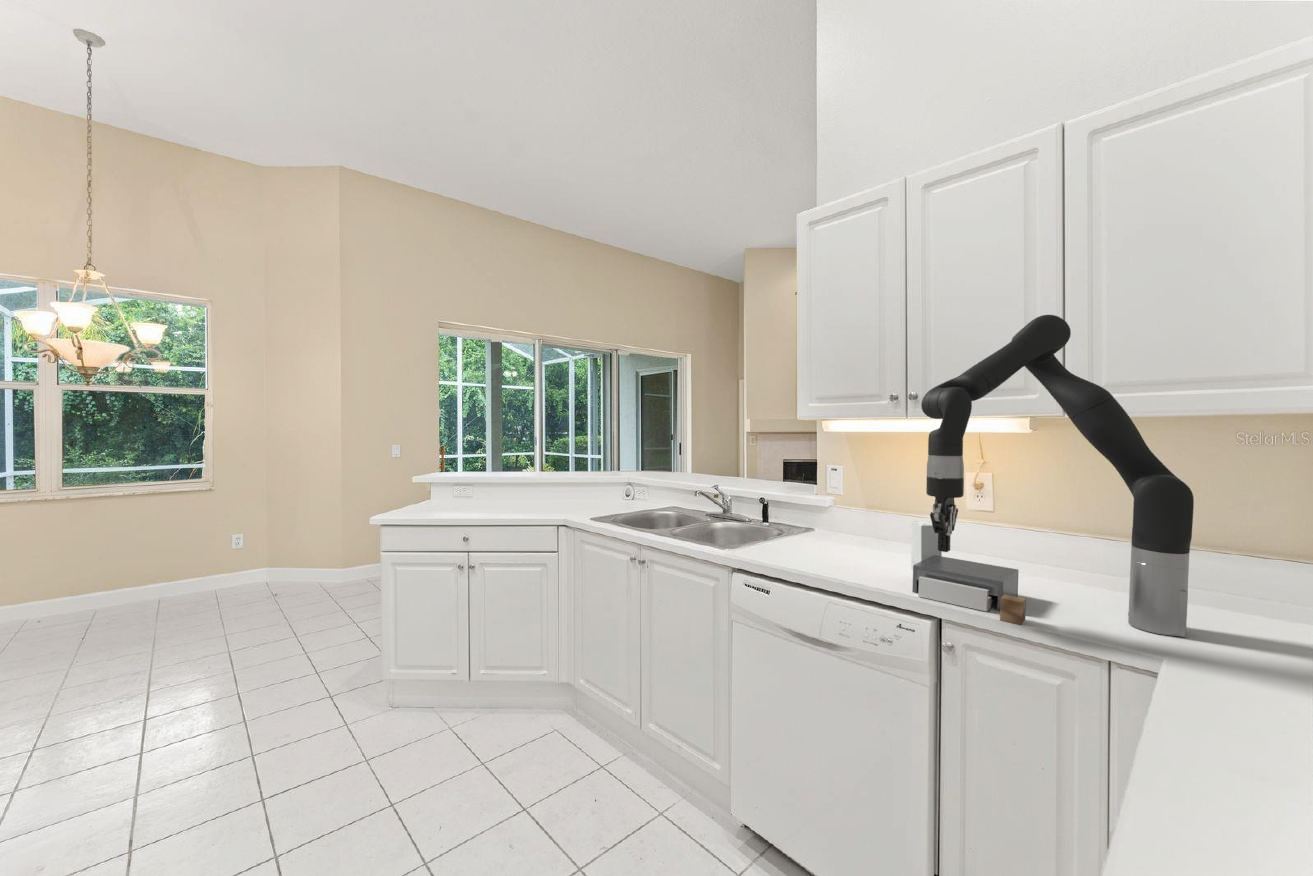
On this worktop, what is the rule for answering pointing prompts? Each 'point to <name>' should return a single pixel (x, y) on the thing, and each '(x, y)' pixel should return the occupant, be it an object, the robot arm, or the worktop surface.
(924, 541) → the skincare box
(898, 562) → the worktop surface
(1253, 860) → the worktop surface
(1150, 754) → the worktop surface
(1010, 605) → the wooden block
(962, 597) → the tray
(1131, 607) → the robot arm
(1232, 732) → the worktop surface
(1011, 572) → the housing
